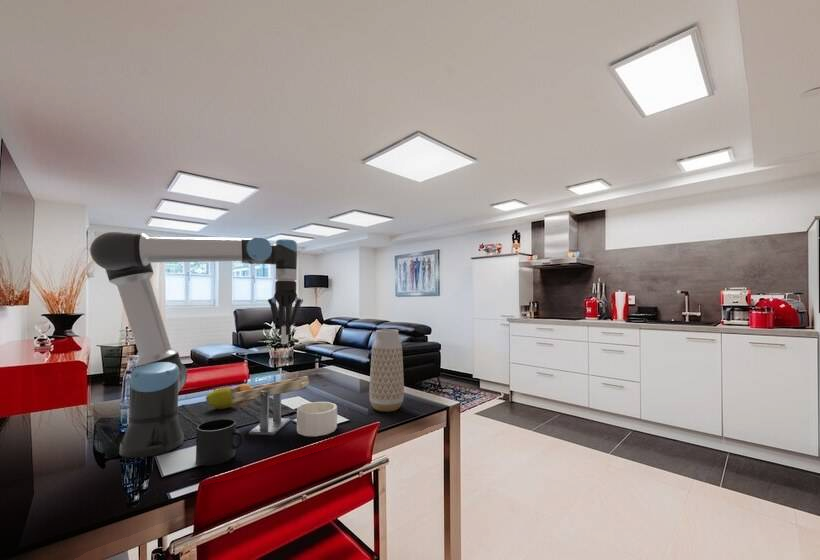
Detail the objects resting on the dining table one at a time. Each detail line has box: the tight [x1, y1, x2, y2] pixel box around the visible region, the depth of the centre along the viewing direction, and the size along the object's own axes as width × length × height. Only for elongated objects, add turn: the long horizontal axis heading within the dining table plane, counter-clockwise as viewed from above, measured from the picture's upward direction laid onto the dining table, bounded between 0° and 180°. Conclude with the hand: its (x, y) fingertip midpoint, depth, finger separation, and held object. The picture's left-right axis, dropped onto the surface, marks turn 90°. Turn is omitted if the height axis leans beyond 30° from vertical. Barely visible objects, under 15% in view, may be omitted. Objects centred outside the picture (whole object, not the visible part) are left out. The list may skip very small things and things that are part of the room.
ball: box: [239, 383, 252, 392], centre depth 121 cm, size 4×4×4 cm
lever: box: [230, 375, 310, 410], centre depth 124 cm, size 24×15×7 cm, turn 86°
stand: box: [248, 391, 291, 436], centre depth 120 cm, size 8×13×13 cm, turn 176°
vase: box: [368, 328, 405, 413], centre depth 141 cm, size 14×14×31 cm
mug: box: [195, 418, 245, 467], centre depth 97 cm, size 9×12×9 cm
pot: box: [296, 401, 338, 437], centre depth 119 cm, size 13×13×7 cm
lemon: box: [205, 387, 235, 410], centre depth 139 cm, size 11×8×8 cm
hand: (284, 343), depth 133 cm, fingers closed
